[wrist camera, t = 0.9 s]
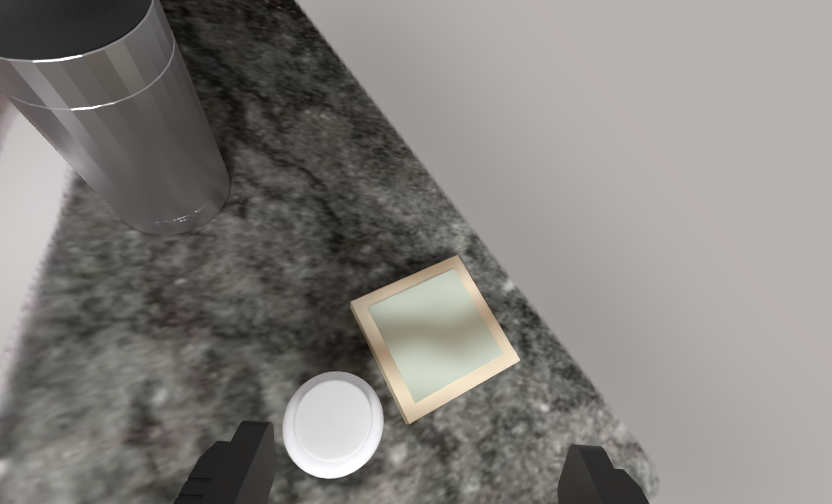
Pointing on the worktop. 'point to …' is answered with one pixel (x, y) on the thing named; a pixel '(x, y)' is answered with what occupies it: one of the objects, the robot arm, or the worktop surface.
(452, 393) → the birch block
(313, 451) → the supplement bottle
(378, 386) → the worktop surface
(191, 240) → the worktop surface
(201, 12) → the worktop surface
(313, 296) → the worktop surface
